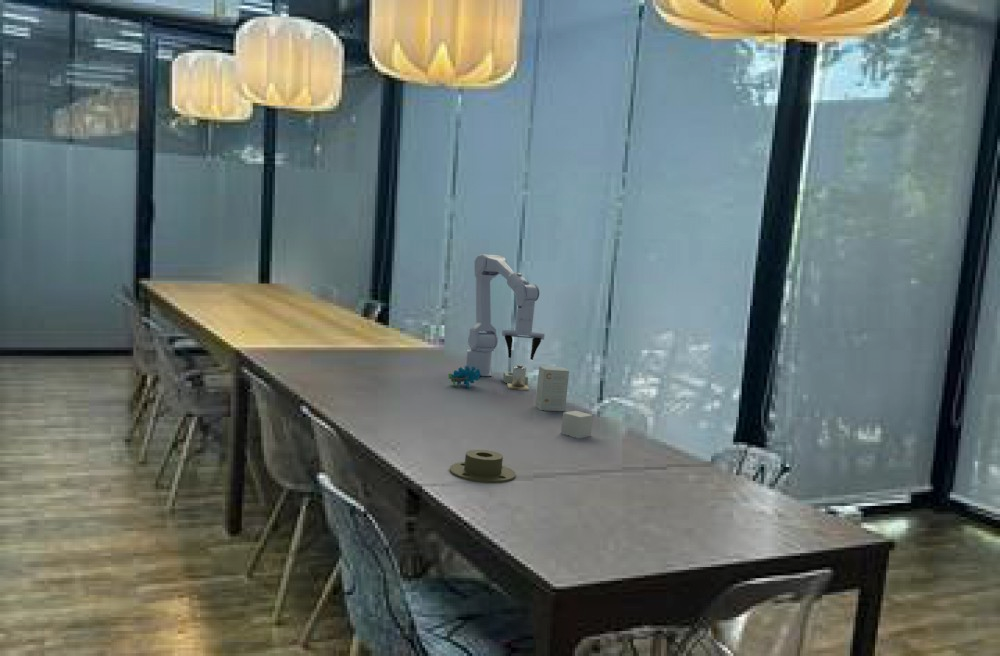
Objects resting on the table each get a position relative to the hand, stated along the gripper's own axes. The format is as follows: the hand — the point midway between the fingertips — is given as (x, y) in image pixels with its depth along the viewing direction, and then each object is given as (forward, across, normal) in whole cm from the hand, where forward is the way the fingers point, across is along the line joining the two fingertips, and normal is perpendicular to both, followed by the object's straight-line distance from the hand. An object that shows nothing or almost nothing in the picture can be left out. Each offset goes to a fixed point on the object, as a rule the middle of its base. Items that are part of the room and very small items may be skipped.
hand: (520, 358), depth 314 cm
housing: (+10, 0, +10) cm, 14 cm away
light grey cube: (+11, +10, -64) cm, 65 cm away
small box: (+11, +7, -32) cm, 34 cm away
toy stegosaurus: (+11, -19, -5) cm, 22 cm away
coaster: (+10, 0, 0) cm, 10 cm away
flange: (+11, -19, -108) cm, 111 cm away
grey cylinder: (+10, 0, 0) cm, 10 cm away
